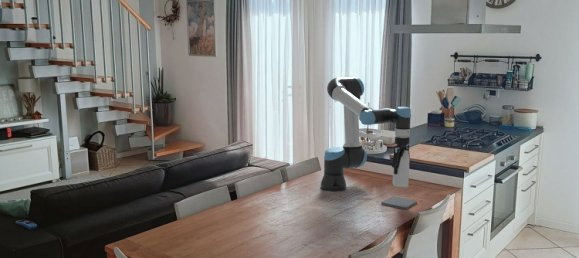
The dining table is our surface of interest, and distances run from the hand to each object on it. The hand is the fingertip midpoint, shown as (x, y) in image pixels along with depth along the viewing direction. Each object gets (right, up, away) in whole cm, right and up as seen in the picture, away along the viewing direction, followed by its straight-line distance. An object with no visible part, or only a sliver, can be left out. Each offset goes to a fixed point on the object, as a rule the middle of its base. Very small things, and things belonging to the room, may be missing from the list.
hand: (400, 177), depth 277 cm
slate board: (0, -14, +2) cm, 14 cm away
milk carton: (0, -4, +1) cm, 4 cm away
